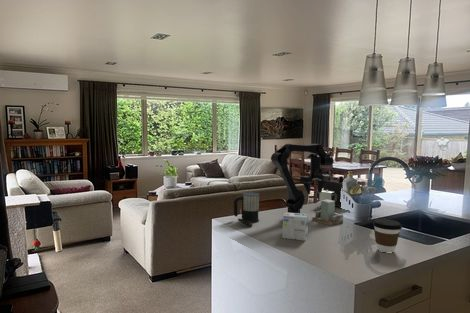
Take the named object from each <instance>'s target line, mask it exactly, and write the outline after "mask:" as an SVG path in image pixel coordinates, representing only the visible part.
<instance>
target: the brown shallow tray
mask: <svg viewBox="0 0 470 313" xmlns="http://www.w3.org/2000/svg"><path fill="white" fill-rule="evenodd" d="M311 220H312V221H315V222H318V223H321V224H324V225H328V226H334V225H338V224H343V223H344V214H341V213H337V212H336V211H334V216H332V218H331V220H329V221H327V220H324V219H321V210H317V211H315V216H314V217H311Z"/></svg>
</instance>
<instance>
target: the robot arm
mask: <svg viewBox="0 0 470 313" xmlns="http://www.w3.org/2000/svg"><path fill="white" fill-rule="evenodd" d="M292 152H303V153H307V154H308V153H309V155H308V156H307V157H306V158H307V159H310V163H309V164H310V165H309V166H310V167H308V170H309V174H308V176H307V175H301V176H300V177H299V182H301V183H302V184H303V186H304V188H305V190H306V192H307V194H308V195H311V188H312V187H311V186H312V184H313V181H317V186H318V192H319V193H321V192H322V190H323V187H324V184H325V183H326V182H328V181H327V180H331V177H332V176H331V171H329V170H328V171H323V170H324V169H323V166H332V165H333V163H334V159H333V158H334V157H332V153H327V152H326V151H325V148H324V146H323V145H322V144H320V143H309V144H294V143H285V144H284V145H283V146H282V147H281V148H279V149H278V150H276V151H275V152H274V153H272V154H271V157H270V160H271V163H272V164H273V165H274V167H276V168H277V169H278V171H279V174H280V175H281V178H282V180H283V182H284V184H285V187H286V189H287V191H288V199H287V200H285V203H284V204H285V206H286V207H287V212H288V213H300V214H301V209H303V207H304V204H305V200H306V198H305V197H306V196H305V195H304V192H303V190H301V189H298V188H297V185H296V183H295V181H294V179H293V177H292V175H291V172H290V169H289V168H288V158H289V157H290V156H291V154H292ZM321 166H322V167H321Z"/></svg>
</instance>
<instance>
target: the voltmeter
mask: <svg viewBox="0 0 470 313" xmlns="http://www.w3.org/2000/svg"><path fill="white" fill-rule="evenodd" d="M327 181H328V182H326V183H325V184H324V187H323V189H322V190H324V191H326V190H328V191H332V192H335V194H337V201H335V207H336V206H337V207H339V208H340V207H341V202H340V191H341V187H342V182H343V181H344V176H341V175H339V179H330V180H327Z"/></svg>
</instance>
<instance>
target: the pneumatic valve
mask: <svg viewBox="0 0 470 313" xmlns="http://www.w3.org/2000/svg"><path fill="white" fill-rule="evenodd" d="M316 199H318V202H321V200H326V199H328V200H332V201H337V194H335V192H332V191H328V190H326V191H324V190H323V189H322V192H321V193H319V191H317V193H316Z"/></svg>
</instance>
